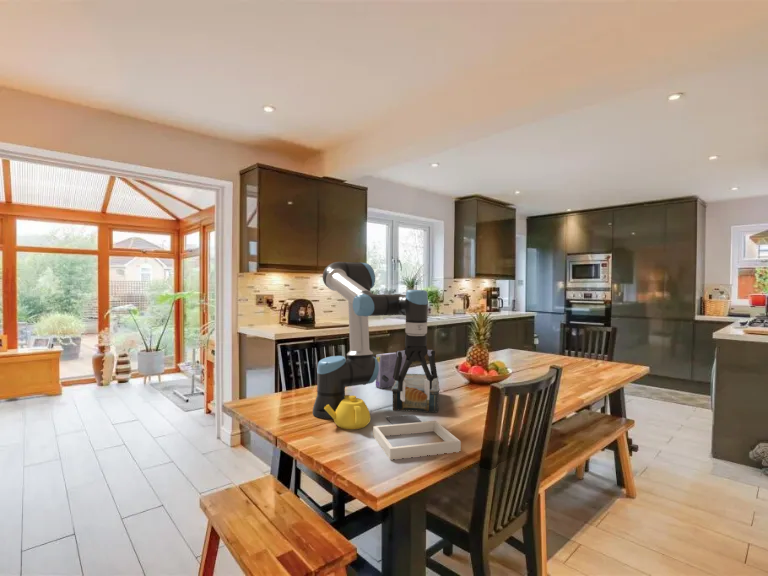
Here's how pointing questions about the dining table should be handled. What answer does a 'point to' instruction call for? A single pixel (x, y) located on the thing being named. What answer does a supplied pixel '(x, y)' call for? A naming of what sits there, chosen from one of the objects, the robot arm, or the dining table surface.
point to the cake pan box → (387, 369)
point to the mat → (403, 419)
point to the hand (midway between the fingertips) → (414, 399)
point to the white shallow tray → (420, 449)
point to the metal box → (418, 383)
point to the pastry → (414, 395)
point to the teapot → (350, 413)
